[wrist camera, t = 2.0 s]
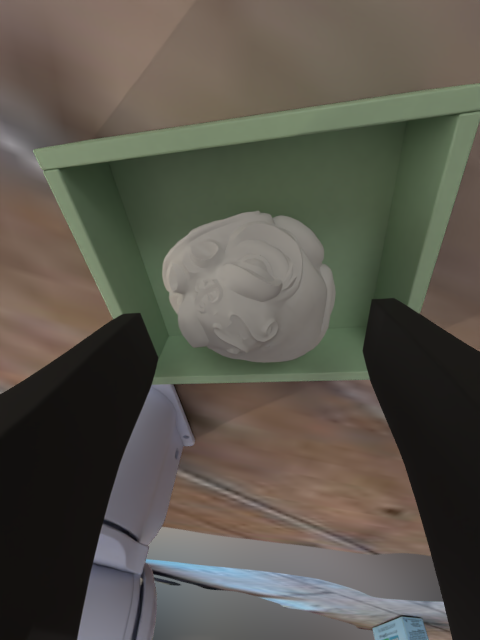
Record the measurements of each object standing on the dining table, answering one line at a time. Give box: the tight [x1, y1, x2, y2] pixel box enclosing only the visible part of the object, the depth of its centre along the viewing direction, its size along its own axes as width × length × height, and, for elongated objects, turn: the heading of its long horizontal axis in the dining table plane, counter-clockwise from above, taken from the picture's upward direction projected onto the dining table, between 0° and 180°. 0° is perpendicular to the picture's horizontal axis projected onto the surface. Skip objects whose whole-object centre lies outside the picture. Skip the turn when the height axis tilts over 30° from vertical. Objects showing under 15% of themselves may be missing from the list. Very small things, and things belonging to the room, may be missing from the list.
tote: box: [33, 83, 480, 385], centre depth 13 cm, size 11×13×4 cm
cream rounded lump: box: [162, 211, 336, 363], centre depth 11 cm, size 6×7×7 cm
